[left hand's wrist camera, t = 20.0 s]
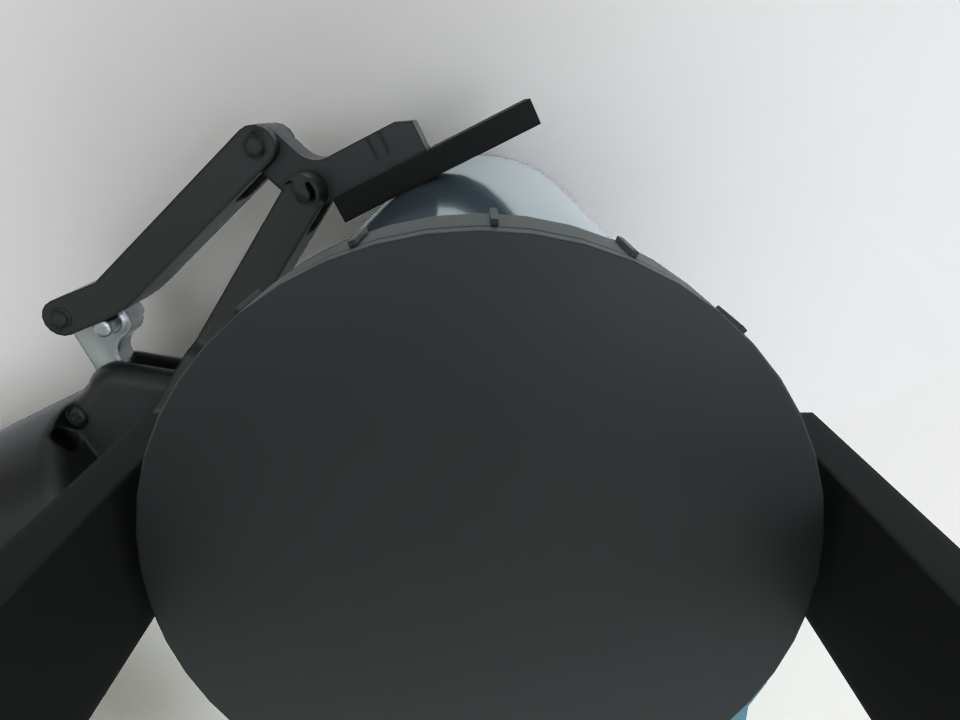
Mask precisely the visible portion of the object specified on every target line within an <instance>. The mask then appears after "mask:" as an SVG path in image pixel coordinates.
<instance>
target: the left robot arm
mask: <svg viewBox="0 0 960 720" xmlns="http://www.w3.org/2000/svg"><path fill="white" fill-rule="evenodd" d="M159 414H160V413H147V414H145V415H144V416H143V417H142V418H141V419H140V420H139V421H138V422H137V423H136V424H135V425H134V426H132V427H131V428H130V429H129V430H128V431H127V432H126V433H125V434H124V435H123V436H122V437H121V438H119V439H118V440H117V441H116V442H115V443H114V444H113V445H112V446H111V447H110V448H109V449H108V450H106V451H105V452H104V453H103V454H102V455H101V456H100V457H99V458H98V459H97V460H96V461H95V462H93V463H92V464H91V465H90V466H89V467H88V468H87V469H86V470H85V471H84V472H83V473H82V474H80V475H79V476H78V477H77V478H76V479H75V480H74V481H73V482H72V483H71V484H70V485H69V486H67V487H66V488H65V489H64V490H63V491H62V492H61V493H60V494H59V495H58V496H57V497H56V498H54V499H53V500H52V501H51V502H50V503H49V504H48V505H47V506H46V507H45V508H44V509H43V510H41V511H40V512H39V513H38V514H37V515H36V516H35V517H34V518H33V519H32V520H31V521H30V522H28V523H27V524H26V525H25V526H24V527H23V528H22V529H21V530H20V531H19V532H18V533H17V534H15V535H14V536H13V537H12V538H11V539H10V540H9V541H8V542H7V543H6V544H5V545H4V546H2V547H1V548H0V720H89V719H90V717H91V715H92V714H93V712H94V711H95V709H96V708H97V706H98V704H99V703H100V701H101V700H102V698H103V697H104V695H105V693H106V692H107V690H108V689H109V687H110V686H111V684H112V682H113V681H114V679H115V678H116V676H117V675H118V673H119V671H120V670H121V668H122V667H123V665H124V664H125V662H126V660H127V659H128V657H129V656H130V654H131V653H132V651H133V649H134V648H135V646H136V645H137V643H138V642H139V640H140V639H141V637H142V635H143V634H144V632H145V631H146V629H147V628H148V626H149V624H150V623H151V621H152V620H153V618H154V617H155V615H154V613H153V611H152V609H151V606H150V602H149V599H148V596H147V592H146V589H145V585H144V582H143V578H142V575H141V571H140V563H139V556H138V548H137V541H136V502H137V491H138V485H139V480H140V474H141V469H142V464H143V458H144V454H145V451H146V449H147V446H148V443H149V440H150V437H151V435H152V432H153V429H154V426H155V424H156V421H157V418H158V416H159ZM800 414H801V416H802V418H803V421H804V424H805V427H806V429H807V432H808V435H809V438H810V440H811V443H812V446H813V449H814V451H815V454H816V459H817V464H818V469H819V475H820V480H821V485H822V490H823V503H824V540H823V548H822V556H821V564H820V571H819V575H818V578H817V582H816V585H815V589H814V592H813V596H812V599H811V603H810V606H809V609H808V611H807V613H806V615H805V617H806V618H807V620H808V621H809V623H810V624H811V626H812V627H813V629H814V631H815V632H816V634H817V635H818V637H819V638H820V640H821V642H822V643H823V645H824V646H825V648H826V649H827V651H828V653H829V654H830V656H831V657H832V659H833V660H834V662H835V664H836V665H837V667H838V668H839V670H840V671H841V673H842V675H843V676H844V678H845V679H846V681H847V682H848V684H849V686H850V687H851V689H852V690H853V692H854V693H855V695H856V697H857V698H858V700H859V701H860V703H861V704H862V706H863V708H864V709H865V711H866V712H867V714H868V715H869V717H870V719H871V720H960V548H959V547H958V546H957V545H955V544H954V543H953V542H952V541H951V540H950V539H949V538H948V537H947V536H946V535H945V534H944V533H942V532H941V531H940V530H939V529H938V528H937V527H936V526H935V525H934V524H933V523H932V522H931V521H929V520H928V519H927V518H926V517H925V516H924V515H923V514H922V513H921V512H920V511H919V510H918V509H916V508H915V507H914V506H913V505H912V504H911V503H910V502H909V501H908V500H907V499H906V498H905V497H903V496H902V495H901V494H900V493H899V492H898V491H897V490H896V489H895V488H894V487H893V486H892V485H890V484H889V483H888V482H887V481H886V480H885V479H884V478H883V477H882V476H881V475H880V474H879V473H877V472H876V471H875V470H874V469H873V468H872V467H871V466H870V465H869V464H868V463H867V462H866V461H864V460H863V459H862V458H861V457H860V456H859V455H858V454H857V453H856V452H855V451H854V450H853V449H851V448H850V447H849V446H848V445H847V444H846V443H845V442H844V441H843V440H842V439H841V438H840V437H838V436H837V435H836V434H835V433H834V432H833V431H832V430H831V429H830V428H829V427H828V426H827V425H825V424H824V423H823V422H822V421H821V420H820V419H819V418H818V417H817V416H816V415H815V414H813V413H800Z"/></svg>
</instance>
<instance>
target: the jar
mask: <svg viewBox="0 0 960 720" xmlns="http://www.w3.org/2000/svg"><path fill="white" fill-rule="evenodd" d="M490 208H497V212H498V214H503V215H519V216H528V217H533V218H538V219H543V220H548V221H553V222H558V223H563V224H568V225H572V226H575V227H578V228H581V229H584V230H587V231H590V232H593V233H595V234H598V235H601V236H604V237H607V238H609V237H608V236H607V235H606V234H605V233H604V232H603V231H602V230H601V229H600V228H599V226H598V225H597V224H596V223H595V222H594V221H593V220H592V219H591V218H590V217H589V216H588V215H587V214H586V213H585V212H584V211H583V210H582V209H581V208H580V207H579V206H578V205H577V204H576V203H575V202H574V201H573V200H572V199H571V198H570V197H569V196H568V195H567V194H566V193H565V192H564V191H563V190H562V189H561V188H560V187H559V186H558V185H557V184H556V183H555V182H554V181H552V180H551V179H549V178H548V177H547V176H545V175H544V174H543V173H541V172H539V171H537V170H535V169H534V168H532V167H530V166H528V165H525V164H523V163H520V162H517V161H515V160H511V159H507V158H502V157H497V156H486V155H478V156H476V157H474V158H472V159H470V160H468V161H466V162H464V163H462V164H460V165H458V166H456V167H454V168H452V169H450V170H448V171H446V172H444V173H442V174H440V175H438V176H436V177H434V178H432V179H430V180H428V181H426V182H424V183H422V184H420V185H418V186H416V187H414V188H412V189H410V190H408V191H407V192H405V193H402V194H401V195H399V196H397V197H395V198H393V199H391V200H389V201H387V202H385V203H384V204H383V205H382V206H381V207H380V208H379V209H378V210H377V211H376V212H375V213H374V214H373V215H372V216H371V217H370V218H369V219H368V220H367V221H366V222H365V223H364V224H363V225H362V226H361V227H360V228H363V227H367V229H368V232H370V231H373V230H376V229H379V228H382V227H385V226H387V225H392V224H397V223H402V222H407V221H412V220H416V219H421V218H426V217H431V216H442V215H457V214H471V213H488V214H490ZM360 228H359V229H360ZM359 229H358V230H359ZM358 230H357V231H358ZM357 231H356V232H357ZM356 232H355V233H356ZM355 233H354V234H355ZM353 236H354V235H353ZM353 236H352V237H353ZM352 237H351V238H352Z"/></svg>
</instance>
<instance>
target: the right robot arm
mask: <svg viewBox="0 0 960 720" xmlns="http://www.w3.org/2000/svg"><path fill="white" fill-rule="evenodd" d="M539 124H541V123H540V121H539V118H538V116H537V114H536V111H535V109H534V107H533V104H532V102H531V100H530V99H524V100H522V101H520V102H518V103H516V104H514V105H512V106H510V107H509V108H507V109H505V110H503V111H501V112H499V113H497V114H495V115H493V116H491V117H489V118H487V119H485V120H483V121H481V122H479V123H477V124H475V125H473V126H472V127H470V128H468V129H466V130H464V131H462V132H460V133H458V134H456V135H454V136H452V137H450V138H448V139H446V140H444V141H442V142H440V143H438V144H437V145H435V146H433V147H431V148H430V147H429V145H428V143H427V141H426V139H425V137H424V135H423V133H422V131H421V129H420V127H419V125H418V122H417V120H408V121H398V122H393V123H392V124H390V125H388V126H386V127H384V128H382V129H380V130H378V131H376V132H374V133H373V134H371V135H369V136H367V137H365V138H363V139H361V140H359V141H357V142H355V143H353V144H352V145H350V146H348V147H346V148H344V149H342V150H340V151H338V152H336V153H334V154H333V155H331V156H329V157H321V156H317V155H315V154H313V153H311V152H310V151H308V150H307V149H306V148H305V147H304V146H303V145H302V144H301V143H300V142H299V141H298V140H296V139H295V137H294V135H293V133H292V132H291V130H290V129H289V128H288V127H286V126H285V125H283V124H280V123H264V124H255V125H248V126H245V127H243V128H242V129H240V130H239V131H238V132H237V133H236V134H235V135H234V136H233V137H232V138H231V139H230V141H229V142H228V143H227V144H226V145H225V146H224V147H223V148H222V149H221V150H220V151H219V152H218V153H217V154H216V155H215V156H214V157H213V158H212V160H211V161H210V162H209V163H208V164H207V165H206V166H205V167H204V168H203V169H202V170H201V171H200V172H199V173H198V174H197V175H196V176H195V177H194V179H193V180H192V181H191V182H190V183H189V184H188V185H187V186H186V187H185V188H184V189H183V190H182V191H181V192H180V193H179V194H178V195H177V196H176V198H175V199H174V200H173V201H172V202H171V203H170V204H169V205H168V206H167V207H166V208H165V209H164V210H163V211H162V212H161V213H160V214H159V215H158V217H157V218H156V219H155V220H154V221H153V222H152V223H151V224H150V225H149V226H148V227H147V228H146V229H145V230H144V231H143V232H142V233H141V234H140V236H139V237H138V238H137V239H136V240H135V241H134V242H133V243H132V244H131V245H130V246H129V247H128V248H127V249H126V250H125V251H124V252H123V253H122V255H121V256H120V257H119V258H118V259H117V260H116V261H115V262H114V263H113V264H112V265H111V266H110V267H109V268H108V269H107V270H106V271H105V272H104V274H103V275H102V276H101V277H100V278H99V279H98V280H96V281H94V282H92V283H89V284H87V285H85V286H83V287H81V288H78V289H76V290H74V291H72V292H70V293H67V294H65V295H63V296H61V297H59V298H56V299H54V300H52V301H50V302H49V303H47V304H46V305H45V306H44V308H43V310H42V318H43V321H44V323H45V325H46V326H47V327H48V328H49V329H50V330H51V331H52V332H54V333H56V334H58V335H63V336H66V335H72V334H74V335H75V337H76V338H77V340H78V341H79V343H80V345H81V346H82V348H83V349H84V351H85V352H86V354H87V355H88V357H89V359H90V360H91V362H92V363H93V365H94V366H95V368H96V370H97V371H96V372H95V373H94V374H93V376H92V378H91V380H90V382H89V384H88V385H87V387H86V388H85V389H83V390H81V391H79V392H77V393H75V394H73V395H71V396H69V397H67V398H65V399H63V400H61V401H59V402H57V403H55V404H53V405H51V406H49V407H47V408H45V409H43V410H41V411H39V412H37V413H35V414H33V415H31V416H29V417H27V418H25V419H23V420H21V421H19V422H17V423H15V424H13V425H11V426H9V427H7V428H5V429H4V430H2V431H1V432H0V548H1V547H2V546H4V545H5V544H6V543H7V542H8V541H9V540H10V539H11V538H12V537H13V536H14V535H15V534H17V533H18V532H19V531H20V530H21V529H22V528H23V527H24V526H25V525H26V524H27V523H28V522H30V521H31V520H32V519H33V518H34V517H35V516H36V515H37V514H38V513H39V512H40V511H41V510H43V509H44V508H45V507H46V506H47V505H48V504H49V503H50V502H51V501H52V500H53V499H54V498H56V497H57V496H58V495H59V494H60V493H61V492H62V491H63V490H64V489H65V488H66V487H67V486H69V485H70V484H71V483H72V482H73V481H74V480H75V479H76V478H77V477H78V476H79V475H80V474H82V473H83V472H84V471H85V470H86V469H87V468H88V467H89V466H90V465H91V464H92V463H93V462H95V461H96V460H97V459H98V458H99V457H100V456H101V455H102V454H103V453H104V452H105V451H106V450H108V449H109V448H110V447H111V446H112V445H113V444H114V443H115V442H116V441H117V440H118V439H119V438H121V437H122V436H123V435H124V434H125V433H126V432H127V431H128V430H129V429H130V428H131V427H132V426H134V425H135V424H136V423H137V422H138V421H139V420H140V419H141V418H142V417H143V416H144V415H145V414H147V413H160V412H161V410H162V408H163V406H164V405H165V403H166V401H167V399H168V398H169V396H170V394H171V392H172V390H173V389H174V387H175V385H176V383H177V381H178V379H179V378H180V377H181V376H182V374H183V373H184V372H185V370H186V369H187V368H188V367H189V365H190V364H191V363H192V361H193V360H194V359H195V358H196V356H197V355H198V354H199V352H200V351H201V350H202V349H203V347H204V346H205V345H206V343H208V342H209V341H210V340H211V339H212V338H213V337H214V336H215V335H216V334H217V333H218V332H219V331H220V330H221V329H222V328H223V327H224V326H225V325H227V324H228V323H229V322H230V321H231V320H232V319H233V318H234V317H235V316H234V315H233V314H232V313H231V311H232V310H234V309H235V308H236V307H237V306H238V305H239V304H241V303H242V302H243V301H244V300H245V299H247V298H248V297H249V296H250V295H252V294H253V293H254V292H255V291H256V290H258V289H259V290H260V291H261V292H264V291H265V290H266V289H267V288H268V287H269V286H271V285H272V284H273V283H275V282H276V281H277V280H279V279H280V278H282V277H283V276H285V275H286V274H287V273H289V272H290V271H292V269H293V268H294V266H295V264H296V263H297V261H298V259H299V258H300V256H301V255H302V253H303V251H304V250H305V248H306V246H307V245H308V243H309V241H310V240H311V238H312V236H313V235H314V233H315V231H316V230H317V228H318V226H319V225H320V223H321V221H322V220H323V218H324V216H325V215H326V213H327V211H328V210H329V208H330V206H331V205H332V203H333V201H334V203H335V205H336V206H337V208H338V210H339V212H340V214H341V216H342V217H343V219H344V221H345V222H347V221H349V220H351V219H353V218H355V217H357V216H359V215H361V214H363V213H365V212H367V211H369V210H371V209H373V208H375V207H377V206H379V205H381V204H383V203H385V202H387V201H389V200H391V199H393V198H395V197H397V196H399V195H401V194H402V193H405V192H407V191H408V190H410V189H412V188H414V187H416V186H418V185H420V184H422V183H424V182H426V181H428V180H430V179H432V178H434V177H436V176H438V175H440V174H442V173H444V172H446V171H448V170H450V169H452V168H454V167H456V166H458V165H460V164H462V163H464V162H466V161H468V160H470V159H472V158H474V157H476V156H478V155H480V154H482V153H484V152H486V151H488V150H490V149H491V148H493V147H495V146H497V145H499V144H501V143H503V142H505V141H507V140H509V139H511V138H513V137H515V136H517V135H519V134H521V133H523V132H525V131H527V130H529V129H531V128H533V127H535V126H537V125H539ZM268 179H269V180H270V181H272V182H273V183H274V184H275V185H276V186H277V187H278V188H279V189H280V190H282V191H281V193H280V195H279V196H278V198H277V200H276V202H275V203H274V205H273V207H272V209H271V210H270V212H269V214H268V216H267V217H266V219H265V221H264V223H263V224H262V226H261V228H260V230H259V231H258V233H257V235H256V237H255V238H254V240H253V242H252V244H251V245H250V247H249V249H248V251H247V252H246V254H245V256H244V258H243V259H242V261H241V263H240V264H239V266H238V268H237V270H236V271H235V273H234V275H233V277H232V278H231V280H230V282H229V284H228V285H227V287H226V289H225V291H224V292H223V294H222V296H221V298H220V299H219V301H218V303H217V305H216V306H215V308H214V310H213V312H212V313H211V315H210V317H209V319H208V320H207V322H206V324H205V326H204V327H203V329H202V331H201V332H200V334H199V336H198V338H197V339H196V341H195V342H194V343H193V345H192V346H191V347H190V348H189V350H188V351H187V352H186V354H185V355H184V357H183V358H178V357H172V356H166V355H160V354H154V353H148V352H141V351H133V349H132V346H131V341H130V340H131V336H132V334H133V332H134V331H135V330H137V329H138V328H139V327H140V326H141V325H142V323H143V319H144V316H143V313H144V307H143V305H142V304H141V303H140V302H139V301H141V300H143V299H145V298H146V297H148V296H150V295H151V294H153V293H154V292H156V291H157V290H159V289H160V288H161V287H162V286H163V285H164V284H165V283H167V282H168V281H169V280H170V279H171V278H172V277H173V276H174V275H175V274H176V273H177V272H178V270H179V269H180V268H181V267H182V266H183V265H184V264H185V263H186V262H187V261H188V260H189V259H190V258H191V257H192V256H193V255H194V254H195V253H196V252H197V251H198V250H199V249H200V248H201V247H202V246H203V245H204V244H205V243H206V242H207V241H208V240H209V239H210V238H211V237H212V236H213V235H214V234H215V233H216V232H217V231H218V230H219V229H220V228H221V227H222V226H223V225H224V224H225V223H226V222H227V221H228V220H229V219H230V218H231V217H232V216H233V215H234V214H235V213H236V212H237V211H238V210H239V209H240V208H241V207H242V206H243V204H244V203H245V202H246V201H247V200H248V199H249V198H250V197H251V196H252V195H253V194H254V193H255V192H256V191H257V190H258V189H259V188H260V187H261V186H262V185H263V184H264V183H265V182H266V181H267V180H268Z"/></svg>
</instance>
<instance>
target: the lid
mask: <svg viewBox="0 0 960 720" xmlns="http://www.w3.org/2000/svg"><path fill="white" fill-rule="evenodd" d="M231 313H232V314H233V315H234V316H235V317H234V318H233V319H232V320H231V321H230V322H229V323H228V324H227V325H225V326H224V327H223V328H222V329H221V330H220V331H219V332H218V333H217V334H216V335H215V336H214V337H213V338H212V339H211V340H210V341H209V342H208V343H206V345H205V346H204V347H203V349H202V350H201V351H200V352H199V354H198V355H197V356H196V358H195V359H194V360H193V361H192V363H191V364H190V365H189V367H188V368H187V369H186V370H185V372H184V373H183V374H182V376H181V377H180V378H179V379H178V381H177V383H176V385H175V387H174V389H173V390H172V392H171V394H170V396H169V398H168V399H167V401H166V403H165V405H164V406H163V408H162V410H161V412H160V414H159V416H158V418H157V421H156V424H155V426H154V429H153V432H152V435H151V437H150V440H149V443H148V446H147V449H146V451H145V454H144V458H143V464H142V469H141V474H140V480H139V485H138V491H137V502H136V541H137V548H138V556H139V563H140V571H141V575H142V578H143V582H144V585H145V589H146V592H147V596H148V599H149V602H150V606H151V609H152V611H153V613H154V615H155V618H156V620H157V622H158V624H159V626H160V629H161V631H162V633H163V635H164V637H165V640H166V642H167V643H168V645H169V646H170V648H171V650H172V651H173V653H174V654H175V656H176V658H177V659H178V661H179V662H180V664H181V665H182V667H183V669H184V670H185V672H186V673H187V674H188V676H189V677H190V678H191V679H192V680H193V682H194V683H195V684H196V685H197V686H198V688H199V689H200V690H201V691H202V692H203V694H204V695H205V696H206V697H207V698H208V700H209V701H210V702H211V703H212V704H213V705H214V706H215V707H216V708H217V709H219V710H220V711H221V712H222V713H223V714H224V715H225V716H226V717H227V718H228V719H229V720H731V719H732V718H733V717H734V716H735V715H736V714H737V713H738V712H739V711H740V710H742V709H743V708H744V707H745V706H746V705H747V704H748V703H749V702H750V701H751V700H752V699H753V697H754V696H755V695H756V694H757V693H758V691H759V690H760V689H761V688H762V687H763V685H764V684H765V683H766V682H767V680H768V679H769V678H770V677H771V676H772V674H773V673H774V672H775V670H776V669H777V667H778V666H779V664H780V662H781V661H782V659H783V658H784V656H785V654H786V653H787V651H788V650H789V648H790V646H791V645H792V643H793V642H794V640H795V638H796V635H797V633H798V631H799V629H800V626H801V624H802V622H803V620H804V618H805V615H806V613H807V611H808V609H809V606H810V603H811V599H812V596H813V592H814V589H815V585H816V582H817V578H818V575H819V571H820V564H821V556H822V548H823V540H824V503H823V490H822V485H821V480H820V475H819V469H818V464H817V459H816V454H815V451H814V449H813V446H812V443H811V440H810V438H809V435H808V432H807V429H806V427H805V424H804V421H803V418H802V416H801V414H800V412H799V410H798V408H797V407H796V405H795V403H794V401H793V399H792V398H791V396H790V394H789V392H788V391H787V389H786V387H785V385H784V383H783V382H782V380H781V378H780V377H779V376H778V374H777V373H776V372H775V370H774V369H773V368H772V367H771V365H770V364H769V363H768V361H767V360H766V359H765V358H764V356H763V355H762V354H761V353H760V351H759V350H758V349H757V347H756V346H755V345H754V344H753V343H752V342H751V341H750V340H749V339H748V338H747V337H746V336H745V335H744V333H745V332H746V331H747V330H746V328H745V327H744V326H743V325H741V324H740V323H739V322H738V321H737V320H736V319H734V318H733V317H732V316H731V315H730V314H728V313H727V312H726V311H725V310H724V309H722V308H721V307H720V306H719V305H718V306H717V307H716V308H715V307H714V306H713V305H711V304H710V303H709V302H708V301H707V300H706V299H704V298H703V297H702V296H701V295H700V294H699V293H698V292H696V291H695V290H694V289H693V288H692V287H691V286H689V285H688V284H687V283H685V282H684V281H683V280H681V279H680V278H678V277H677V276H675V275H674V274H673V273H671V272H670V271H668V270H667V269H665V268H664V267H663V266H661V265H660V264H658V263H657V262H655V261H654V260H652V259H650V258H649V257H647V256H645V255H643V254H641V253H639V252H638V251H637V250H636V249H635V248H634V247H632V246H631V245H630V244H629V243H628V242H627V241H626V240H625V239H624V238H622V237H620V236H617V238H616V240H613V239H610V238H607V237H604V236H601V235H598V234H595V233H593V232H590V231H587V230H584V229H581V228H578V227H575V226H572V225H568V224H563V223H558V222H553V221H548V220H543V219H538V218H533V217H528V216H519V215H503V214H498V212H497V208H490V214H488V213H471V214H457V215H442V216H431V217H426V218H421V219H416V220H412V221H407V222H402V223H397V224H392V225H387V226H385V227H382V228H379V229H376V230H373V231H370V232H368V229H367V227H363V228H360V229H359V230H358V231H357V232H356V233H355V234H354V236H353V237H352V238H350V239H347V240H345V241H343V242H341V243H339V244H337V245H335V246H333V247H331V248H329V249H327V250H325V251H323V252H321V253H319V254H317V255H315V256H314V257H312V258H310V259H308V260H306V261H304V262H303V263H302V264H300V265H299V266H297V267H296V268H295V269H293V270H292V271H290V272H289V273H287V274H286V275H285V276H283V277H282V278H280V279H279V280H277V281H276V282H275V283H273V284H272V285H271V286H269V287H268V288H267V289H266V290H265V291H264V292H261V291H260V290H259V289H258V290H256V291H255V292H254V293H253V294H252V295H250V296H249V297H248V298H247V299H245V300H244V301H243V302H242V303H241V304H239V305H238V306H237V307H236V308H235V309H234V310H232V311H231Z"/></svg>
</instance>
